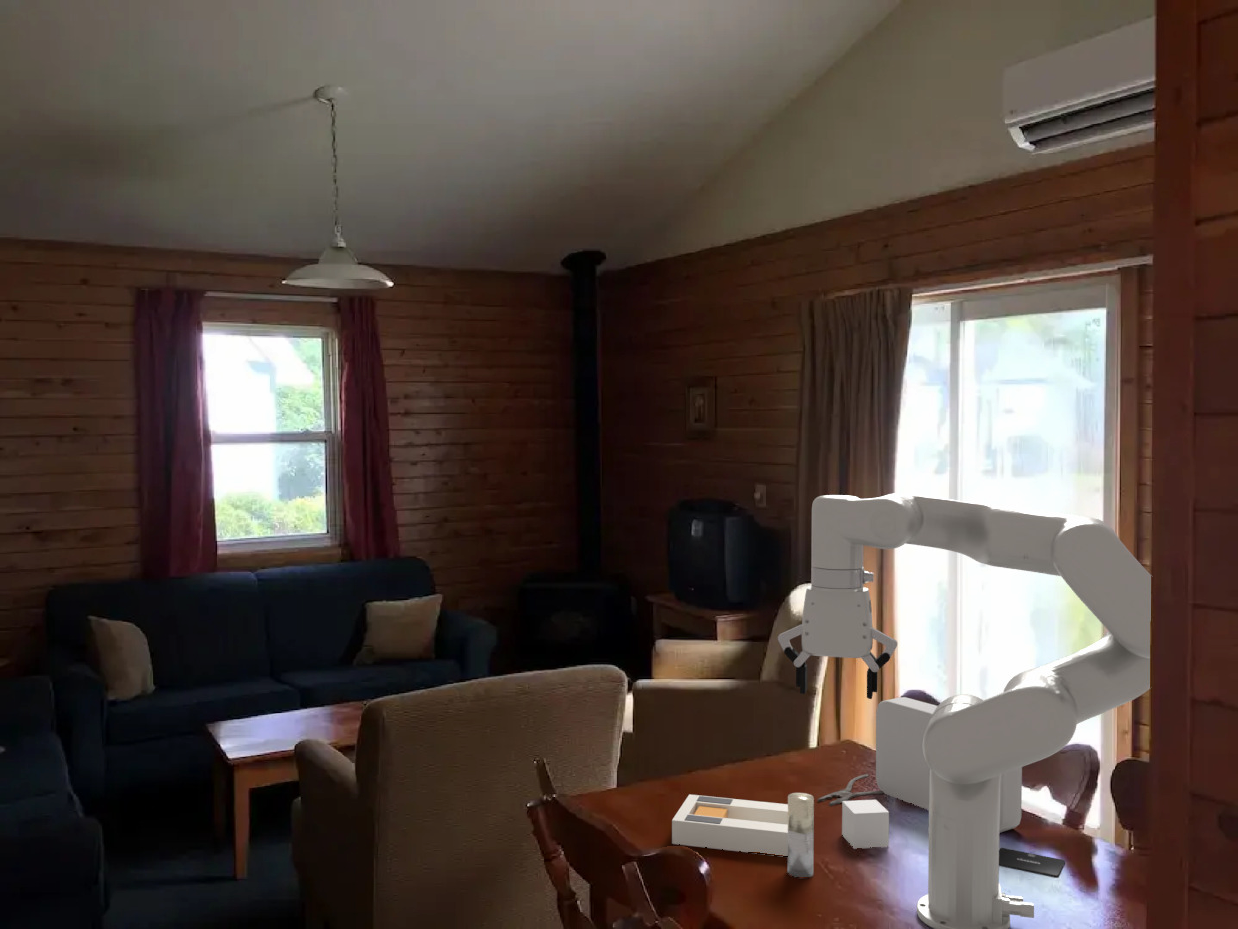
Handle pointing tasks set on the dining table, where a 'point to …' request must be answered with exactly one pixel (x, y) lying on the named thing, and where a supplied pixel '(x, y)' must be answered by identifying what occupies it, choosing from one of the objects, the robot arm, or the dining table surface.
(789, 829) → the silver metal cylinder
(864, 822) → the white cube
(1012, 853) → the solid state drive
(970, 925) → the robot arm
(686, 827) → the switch box
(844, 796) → the pliers
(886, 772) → the rounded white slab
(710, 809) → the switch tab
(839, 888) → the dining table surface
